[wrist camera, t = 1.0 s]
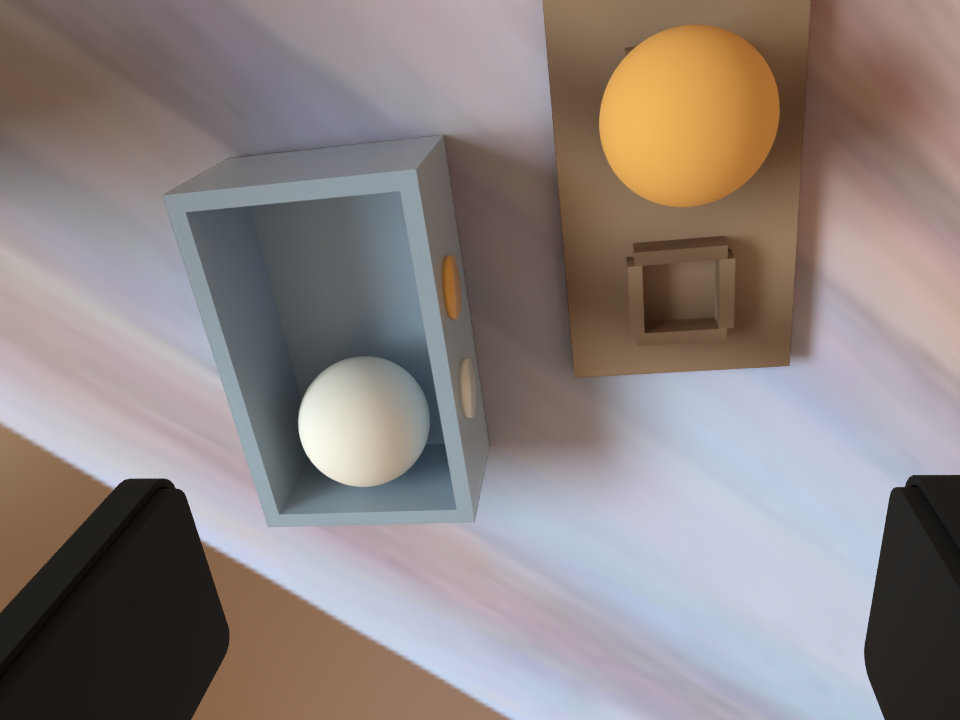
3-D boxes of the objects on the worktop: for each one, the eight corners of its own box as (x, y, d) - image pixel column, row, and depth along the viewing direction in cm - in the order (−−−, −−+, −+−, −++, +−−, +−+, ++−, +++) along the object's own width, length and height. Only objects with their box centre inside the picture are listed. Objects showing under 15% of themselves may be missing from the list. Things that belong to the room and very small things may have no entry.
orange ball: (593, 29, 24) (594, 46, 19) (763, 7, 23) (805, 19, 18) (602, 189, 26) (605, 237, 21) (757, 174, 25) (793, 221, 21)
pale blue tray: (227, 158, 28) (162, 195, 24) (449, 134, 27) (422, 168, 23) (309, 454, 34) (268, 527, 30) (493, 446, 33) (480, 522, 29)
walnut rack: (522, -253, 22) (518, -270, 20) (821, -310, 20) (840, -333, 19) (574, 367, 31) (574, 390, 29) (784, 356, 29) (795, 378, 28)
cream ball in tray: (308, 338, 31) (263, 401, 27) (429, 330, 30) (402, 393, 26) (335, 441, 33) (297, 516, 29) (448, 437, 32) (426, 512, 28)
